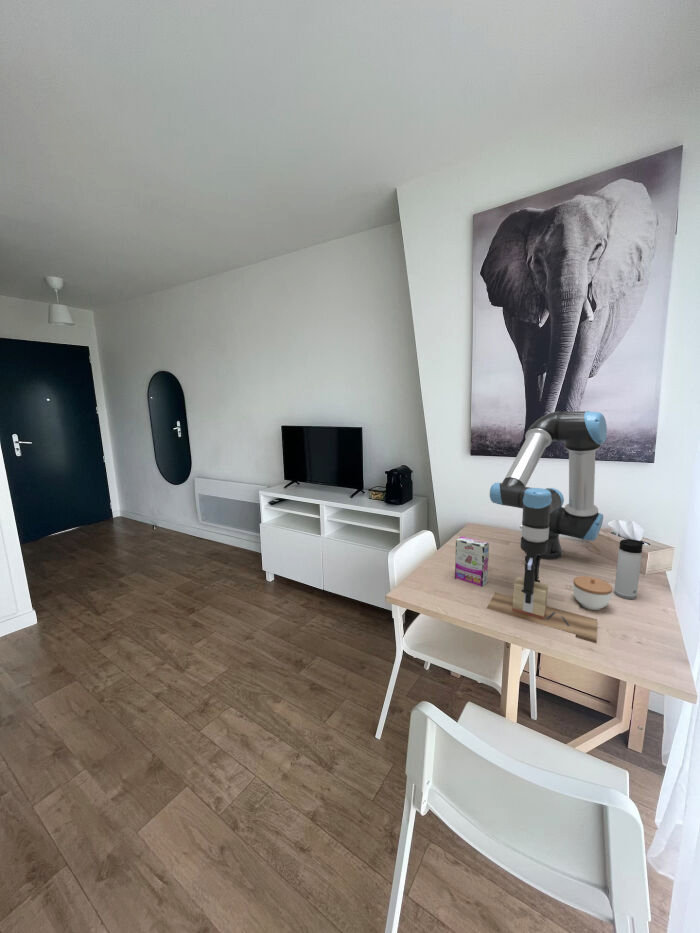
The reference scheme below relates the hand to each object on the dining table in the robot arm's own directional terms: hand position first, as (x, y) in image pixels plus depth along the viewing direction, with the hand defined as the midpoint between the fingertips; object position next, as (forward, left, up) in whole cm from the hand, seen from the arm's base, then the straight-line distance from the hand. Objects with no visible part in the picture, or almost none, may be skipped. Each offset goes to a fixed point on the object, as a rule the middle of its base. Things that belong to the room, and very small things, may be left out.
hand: (529, 606), depth 116 cm
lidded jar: (-16, +16, -3) cm, 23 cm away
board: (0, +3, -2) cm, 4 cm away
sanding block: (0, 0, -1) cm, 1 cm away
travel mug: (-30, +26, -3) cm, 40 cm away
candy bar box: (-11, -22, -3) cm, 25 cm away
